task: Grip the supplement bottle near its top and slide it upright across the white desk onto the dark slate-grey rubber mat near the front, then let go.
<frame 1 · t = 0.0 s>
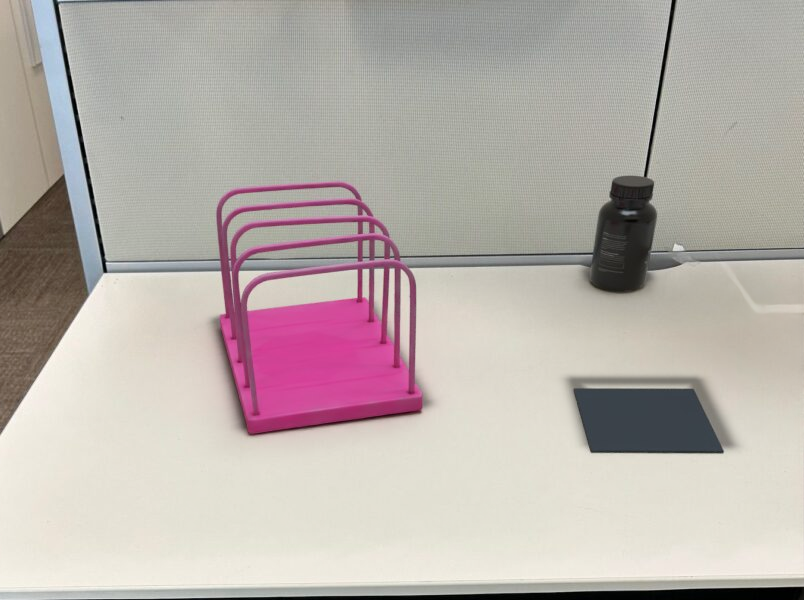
file sorter: (313, 368, 100), on the worktop
mat: (644, 419, 89), on the worktop
supplement bottle: (616, 284, 115), on the worktop
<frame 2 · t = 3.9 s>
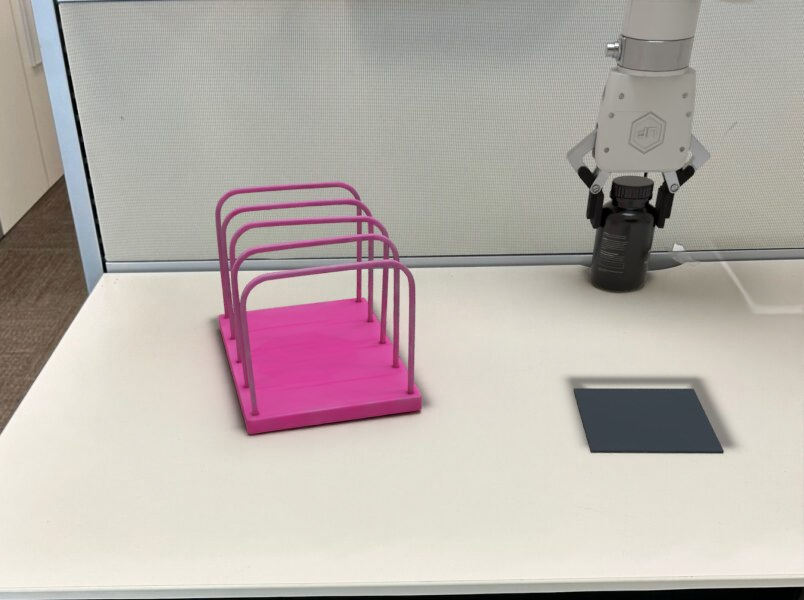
hand: (626, 223, 110), 7 cm above the worktop, tool pointing down, fingers closed on supplement bottle, 6 cm apart
supplement bottle: (616, 284, 115), on the worktop, touching gripper
everything else where it was.
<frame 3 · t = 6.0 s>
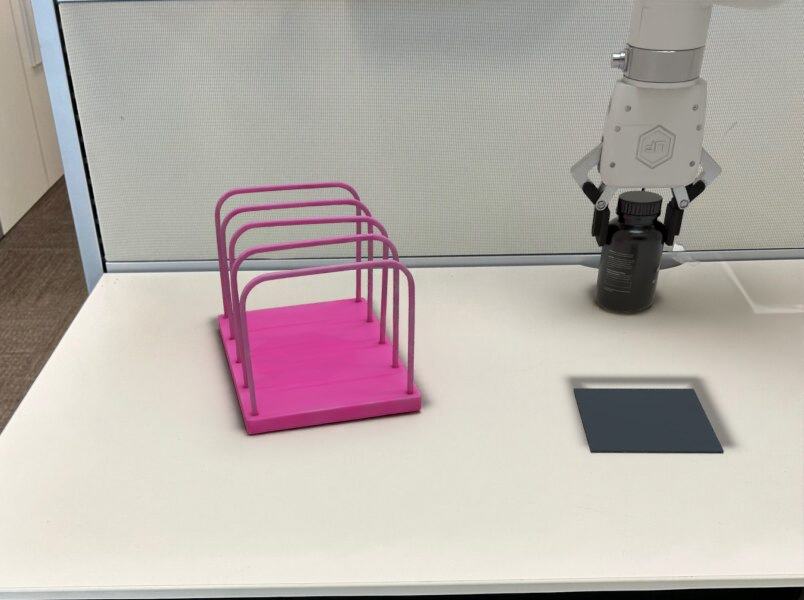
hand: (633, 240, 105), 7 cm above the worktop, tool pointing down, fingers closed on supplement bottle, 6 cm apart
supplement bottle: (623, 303, 110), on the worktop, touching gripper
everything else where it was.
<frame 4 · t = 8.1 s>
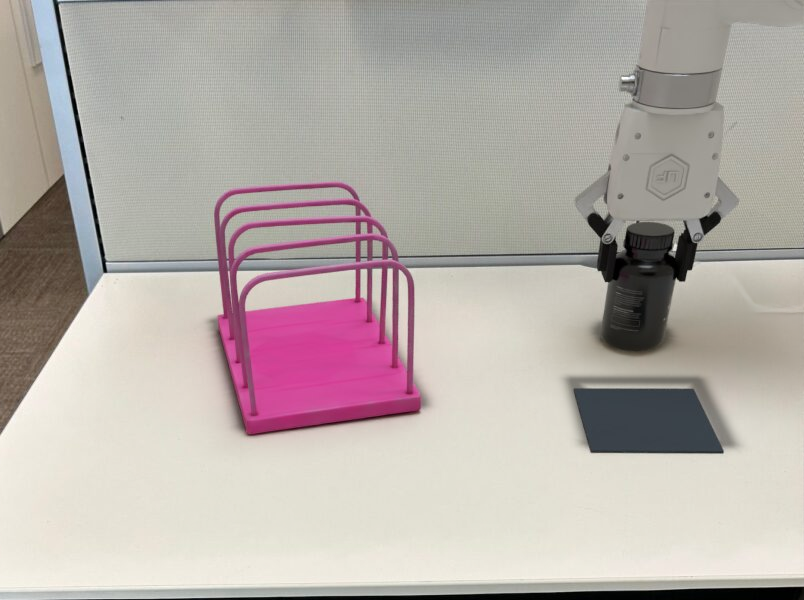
hand: (642, 275, 98), 7 cm above the worktop, tool pointing down, fingers closed on supplement bottle, 6 cm apart
supplement bottle: (630, 341, 102), on the worktop, touching gripper
everything else where it was.
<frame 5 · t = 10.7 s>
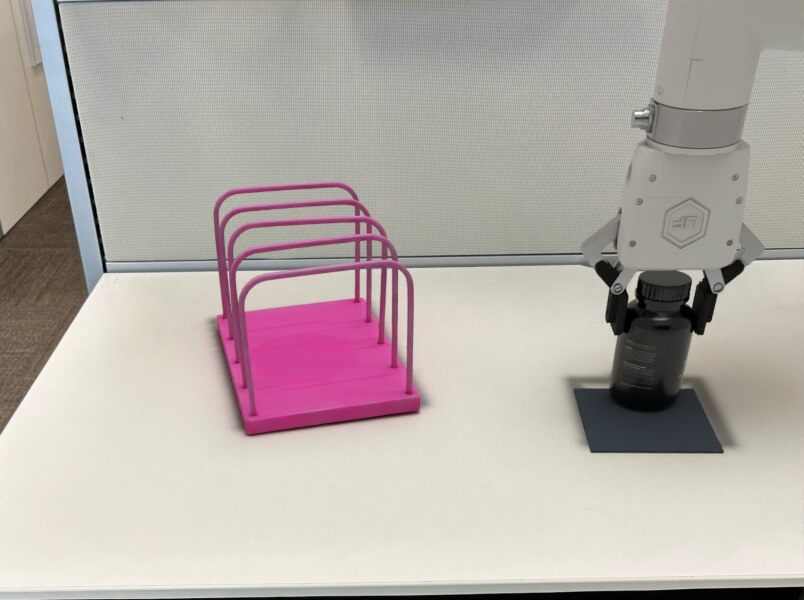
hand: (655, 327, 88), 7 cm above the worktop, tool pointing down, fingers closed on supplement bottle, 6 cm apart
supplement bottle: (642, 397, 93), resting on mat, touching gripper
everything else where it was.
when the fingers open (7 cm above the worktop, at t = 12.6 s): supplement bottle stays where it is, resting on mat.
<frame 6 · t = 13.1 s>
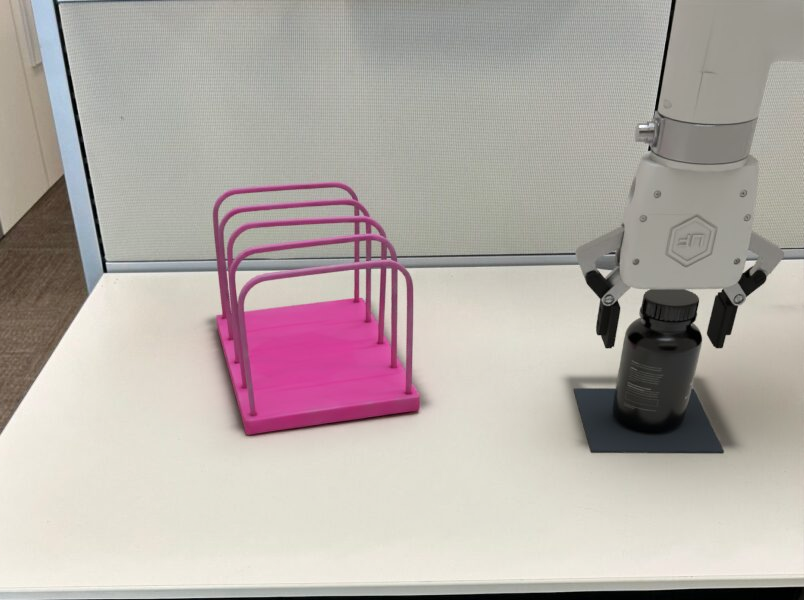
hand: (660, 342, 84), 8 cm above the worktop, tool pointing down, fingers open, 9 cm apart
supplement bottle: (646, 419, 90), resting on mat
everything else where it was.
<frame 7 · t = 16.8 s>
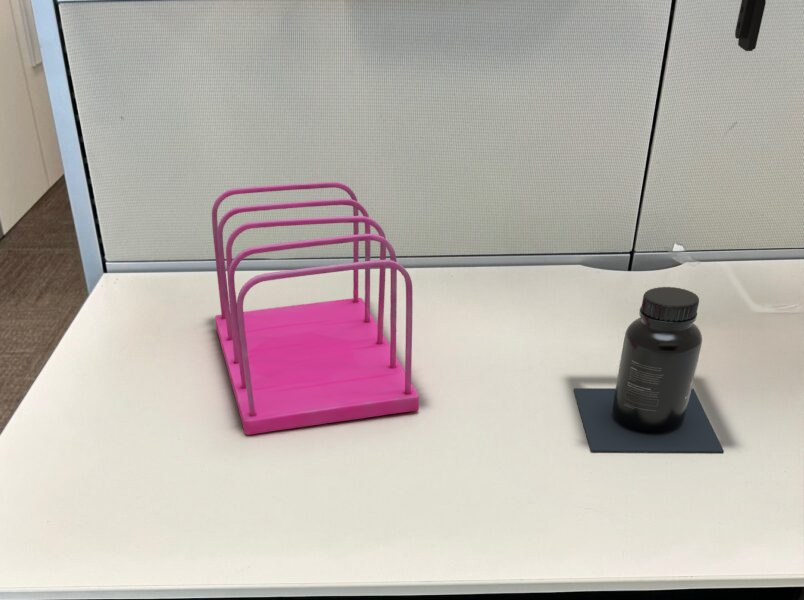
hand: (800, 47, 83), 28 cm above the worktop, tool pointing down, fingers open, 9 cm apart
nothing on the worktop moved.
at the end: supplement bottle inside the target area on the mat (0.2 cm from its centre), point 0.0 cm above the mat's base; supplement bottle tilted 0°; the gripper is holding nothing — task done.
